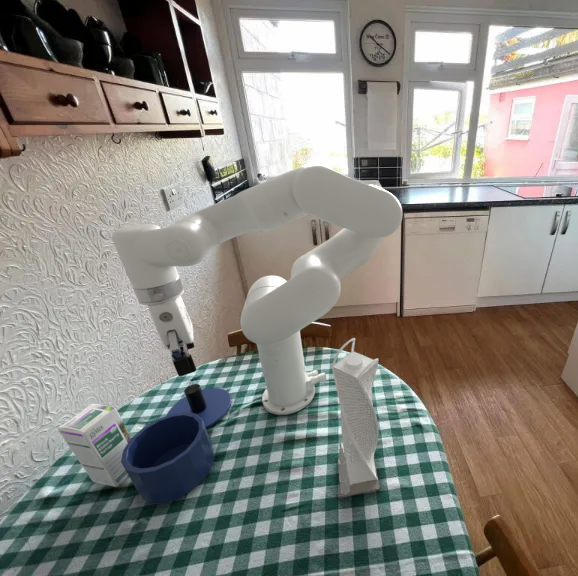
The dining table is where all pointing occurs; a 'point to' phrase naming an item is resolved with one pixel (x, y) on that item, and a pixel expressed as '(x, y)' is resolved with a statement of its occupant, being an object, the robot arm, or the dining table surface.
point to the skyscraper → (356, 422)
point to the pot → (169, 457)
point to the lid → (204, 403)
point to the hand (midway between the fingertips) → (187, 360)
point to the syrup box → (98, 442)
